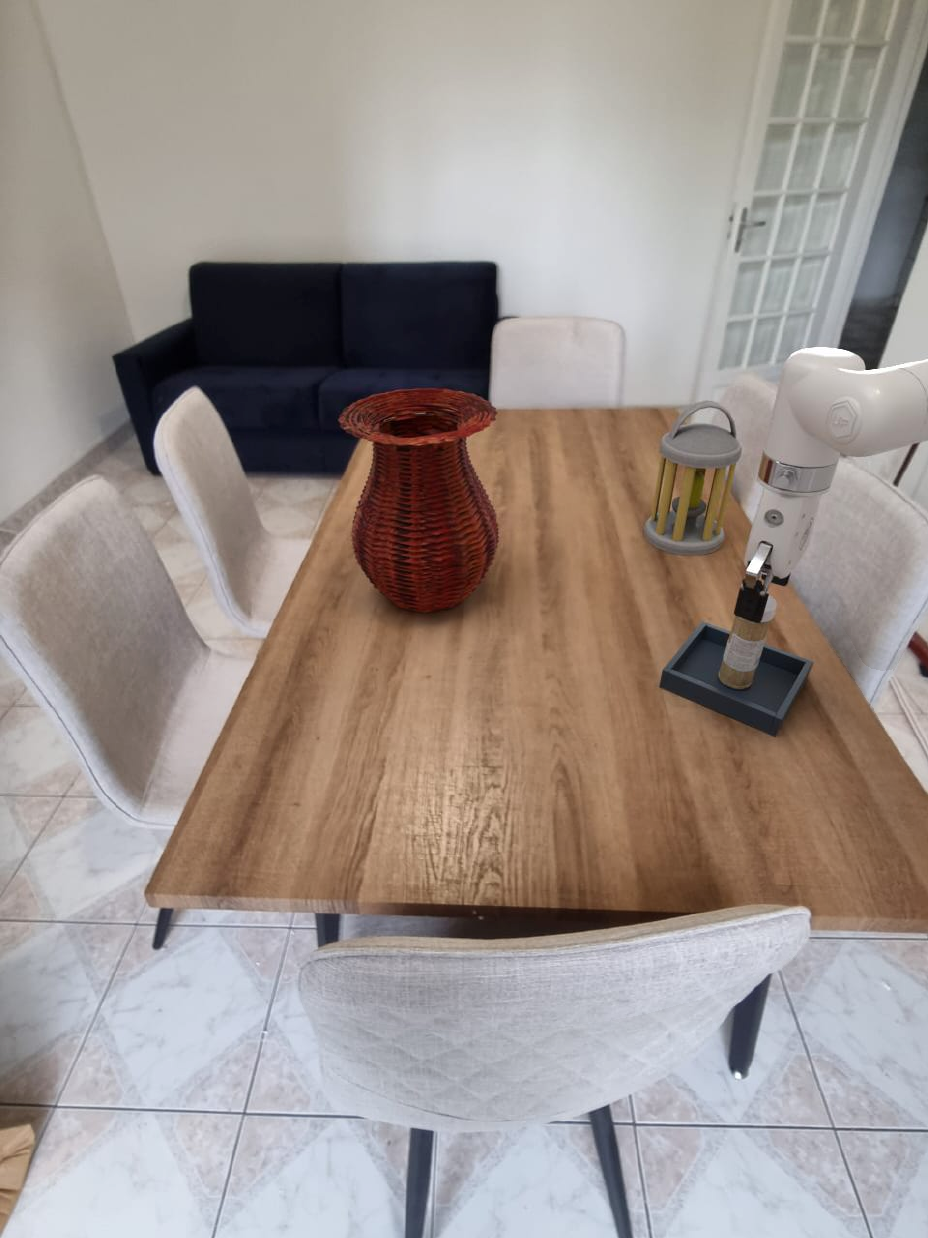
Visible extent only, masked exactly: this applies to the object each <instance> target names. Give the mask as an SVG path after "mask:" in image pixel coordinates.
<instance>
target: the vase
mask: <svg viewBox="0 0 928 1238" xmlns="http://www.w3.org/2000/svg"><path fill="white" fill-rule="evenodd" d="M492 404H493V403H492V402H491V401H488V400H486V399H484V397H482V396H478V395H476V394H475V393H471V392H464V391H462V390H452V389H447V388H432V387H431V388H412V389H396V390H393V391H387V392H383V393H375V394H372V395H369V396H367V397H365V398H362V399H357V401H355V402H351V404H350V405H349V406H347V407H345V408H343V409H342V413H341V414H340V415H339V418H338V419H337V421H338V422H339V423H340V426H339V427H340V429H342V430H345V432H346V433H347V434H349V435H352V436H353V437H354V438H358V439H362V440H366V441H368V442H371V443H372V444H371V446H372V452H373V453H372V459H371V460H372V462H371V464H370V469H369V472H368V475H367V480H366V481H365V485H364V486H363V489H362V491H361V492H362V494H360V495H359V497H360V499H359V500H358V501H357V504H358V505H357V506H356V507H355V509H356V511H355V512H354V516H353V520H352V527H351V529H350V530H351V532H350V537H351V540H350V542H351V543H352V544H351V545H352V547H351V549H352V550H353V551H352V553H353V555H354V558H355V560H356V561H357V564H358V565H359V566H360V569H361V571H362V572H363V573H364V575H365V576H366V578H367V579H368V580H369V582H370V584H372V585H373V588H374V589H375V590H378V591H379V593H380V594H381V595H382V596H385V597H386V599H387V600H389V601H391V603H393V604H395V606H396V607H398V608H401V609H406V610H411V611H415V612H419V613H430V612H435V611H440V610H447V609H453V608H454V607H456V606H457V605H458V604H460V603H461V602H464V601H465V600H466V599H467V598H468V597H469V596H471V594H472V593H473V592H474V591H475V590H477V586H479V585H480V584H481V583H482V582H483V579H484V578H486V577H487V574H488V572H490V566H492V565H493V564H494V560H495V555H496V553H497V548H498V547H499V546H498V543H499V541H500V540H499V538H500V536H499V534H500V532H499V530H500V528H499V523H498V521H497V520H498V518H497V513H496V509H495V508H494V505H493V504H492V500H490V498H489V497H490V495H489V494H487V490H486V488H484V484H482V480H481V479H479V478H480V476H479V475H477V471H475V469H476V468H475V467H474V465H473V464H472V459H470V455H469V451H468V447H467V439H468V437H469V438H470V437H471V436H472V435H474V434H476V433H481V432H483V431H484V430H485V429H487V428H489V427H491V425H492V423H494V422H495V421H496V420H497V419H496V416H497V414H499V413H498V411H497V407H495V406H494V405H492Z"/></svg>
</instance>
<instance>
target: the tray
mask: <svg viewBox="0 0 928 1238" xmlns="http://www.w3.org/2000/svg"><path fill="white" fill-rule="evenodd" d="M730 633H731V630H729V629H725V628H722V627H720V626H717V625H714V624H712V623H710V622H706V621H704V620H702V621H701V622H700V623H699V624H698V626H697V627H696V628H695V629H694V631H693V632H692V633H691V634H690V635H689V637H688V638H687V639H686V640H685V642H684V643H683V644H682V646H681V647H680V648H679V649H678V650H677V652H675V654H674V656H672V658H671V659H670V660H669V661H668V663H667V664H666V665H665V666H664V668H663V669H662V672H661V677H660V681H659V688H661V689H663V690H666V691H668V692H670V693H673V694H675V695H677V696H679V697H682V698H685V700H686V699H687V700H689V701H691V702H694V703H695V704H698V705H701V706H703V707H705V708H708V709H709V710H711V711H714V712H717V713H719V714H721V715H724V716H726V717H728V718H730V719H733V720H735V721H738V722H740V723H743V724H744V725H747V726H750V727H752V728H754V729H756V730H758V731H761V732H763V733H766V734H767V735H770V736H772V737H777V735H778V733H779V732H780V729H781V728H782V726H783V724H784V723H785V720H786V718H787V717H788V715H789V713H790V711H791V710H792V708H793V706H794V705H795V702H796V700H797V698H798V697H799V695H800V693H801V691H802V689H803V688H804V686H805V684H806V682H807V681H808V678H809V676H810V673H811V670H812V668H813V665H814V661H813V660H809V659H807V658H805V657H802V656H799V655H797V654H794V653H791V652H788V651H786V650H783V649H780V648H777V647H774V646H772V645H769V644H767V643H764V646H763V650H762V653H761V656H760V659H759V662H758V665H757V667H756V669H755V673H754V676H753V682H752V684H751V686H750V687H748V688H746V689H733V688H730V687H728V686H726V685H724V684H723V683H722V682H721V681H720V679H719V676H718V673H719V671H720V669H721V665H722V662H723V656H724V652H725V649H726V645H727V642H728V639H729V636H730Z"/></svg>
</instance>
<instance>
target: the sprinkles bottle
mask: <svg viewBox="0 0 928 1238" xmlns="http://www.w3.org/2000/svg"><path fill="white" fill-rule="evenodd" d="M777 608H778V604H777V601H776V599H775V598H774V597H773V596H772V595H770V594H769V597H768V600H767V604H766V607H765V611H764V615H763V618H762V621H761V622H760V623H755V622H752V621H749V620H746V619H743V618H741V617H738V616H735V615H734V619H733V621H732V626H731V630H730V631H731V633H730V636H729V639H728V642H727V645H726V649H725V652H724V656H723V662H722V665H721V669H720V671H719V673H718V676H719V679H720V681H721V682H722V683H723V684H724V685H726V686H728V687H730V688H733V689H746V688H748V687H750V686H751V684H752V682H753V676H754V673H755V669H756V667H757V665H758V662H759V659H760V656H761V653H762V650H763V646H764V644H766V640H767V637H768V631H769V628H770V625H771V621H772V620H773V618H775V614H776V611H777Z"/></svg>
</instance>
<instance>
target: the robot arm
mask: <svg viewBox="0 0 928 1238" xmlns="http://www.w3.org/2000/svg"><path fill="white" fill-rule="evenodd" d="M776 391H777V392H776V396H775V399H774V405H773V408H772V412H771V416H770V421H769V425H768V429H767V434H766V438H765V442H764V447H763V450H762V455H761V459H760V463H759V467H758V472H757V475H756V482H757V484H759V486H761V487H762V492H761V495H760V498H759V501H758V504H757V508H756V512H755V515H754V518H753V519H754V520H753V521H752V526H751V530H750V534H749V536H748V541H747V545H746V549H745V554H744V560H743V565H744V567H745V568H746V570H745V573H744V577H743V579H742V581H741V584H740V587H739V589H738V594H737V598H736V602H735V606H734V610H733V615H734V617H735V616H738V617H741V618H743V619H746V620H749V621H752V622H755V623H760V622H761V621H762V618H763V615H764V611H765V607H766V604H767V600H768V597H769V595H770V593H768V590H769V588H770V586H771V584H774V585H778V586H781V587H786V586H788V583H789V582H790V577H791V574H792V572H793V570H794V569H795V567H796V566H797V565H798V563H799V562H800V560H801V559H802V557H803V556H804V555H805V553H806V551H807V550H808V547H809V544H810V540H811V536H812V532H813V529H814V525H815V520H816V517H817V513H818V510H819V505H820V501H821V497H822V495H825V494H827V493H828V492H829V491H830V490H831V487H832V483H833V480H834V477H835V473H836V471H837V467H838V464H839V461H840V458H841V454H842V455H845V456H846V457H847V456H848V457H852V458H866V457H872V456H876V455H880V454H883V453H886V452H890V451H894V450H898V449H900V448H904V447H908V446H911V445H912V446H913V445H915V444H918V443H919V444H920V443H922V442H928V358H927V359H924V360H919V361H912V362H907V363H903V364H898V365H894V366H889V367H884V368H877V369H870V370H866V364H865V361H864V360H863V358H862V357H861V356H860V355H858V354H856V353H854V352H851V351H849V350H845V349H840V348H839V349H838V348H832V347H811V348H809V347H808V348H804V349H800V350H797V351H795V352H794V353H792V354H791V355H790V356H789V357H788V358H787V359H786V360H785V362H784V364H783V367H782V370H781V375H780V379H779V383H778V387H777V390H776ZM760 579H761V580H760ZM762 581H763V582H762Z"/></svg>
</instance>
